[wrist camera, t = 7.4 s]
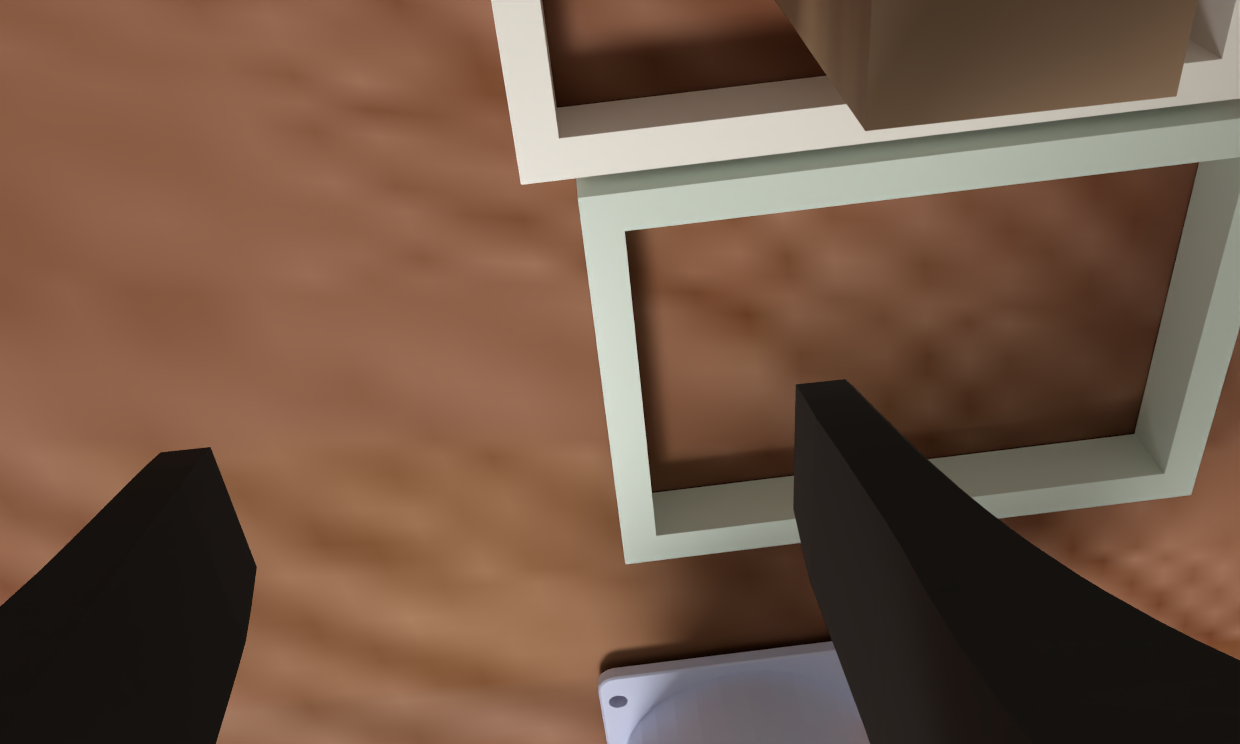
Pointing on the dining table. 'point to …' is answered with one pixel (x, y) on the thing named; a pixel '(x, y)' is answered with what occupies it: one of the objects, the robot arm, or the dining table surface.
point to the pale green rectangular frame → (1205, 132)
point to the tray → (764, 107)
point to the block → (992, 54)
